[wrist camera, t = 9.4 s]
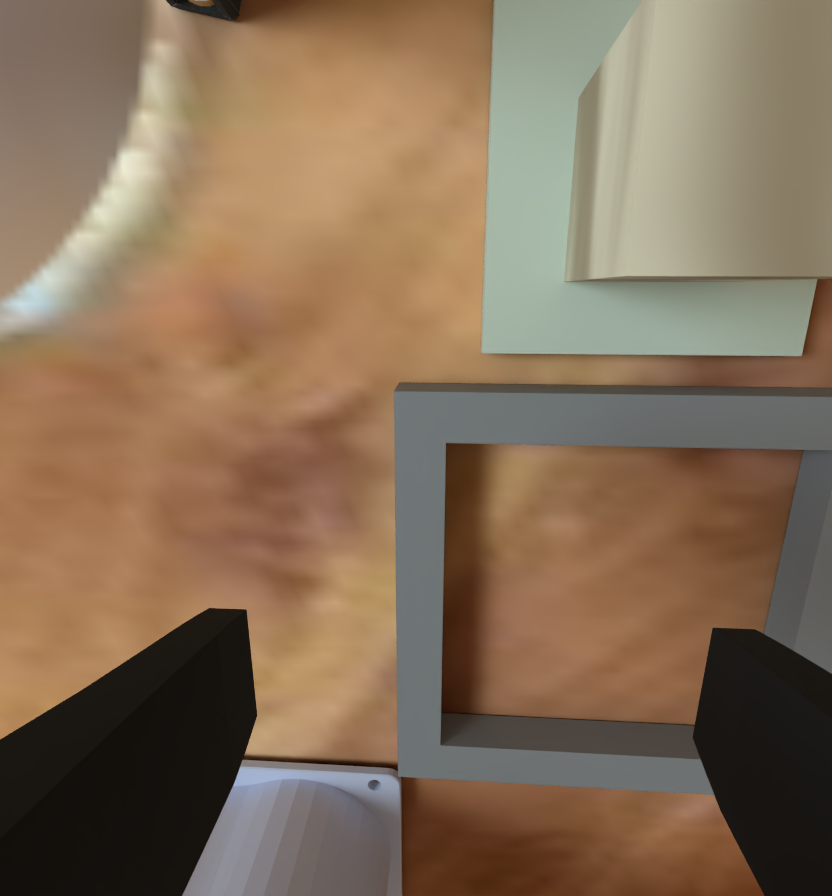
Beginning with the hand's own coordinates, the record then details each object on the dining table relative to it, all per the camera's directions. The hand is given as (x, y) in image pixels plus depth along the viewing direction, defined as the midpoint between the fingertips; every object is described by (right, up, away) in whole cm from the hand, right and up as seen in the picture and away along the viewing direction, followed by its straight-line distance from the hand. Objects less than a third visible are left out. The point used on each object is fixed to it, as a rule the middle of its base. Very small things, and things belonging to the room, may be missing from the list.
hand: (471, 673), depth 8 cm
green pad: (+6, +11, +6) cm, 14 cm away
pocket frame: (+6, -1, +10) cm, 11 cm away
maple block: (+5, +10, +6) cm, 13 cm away
